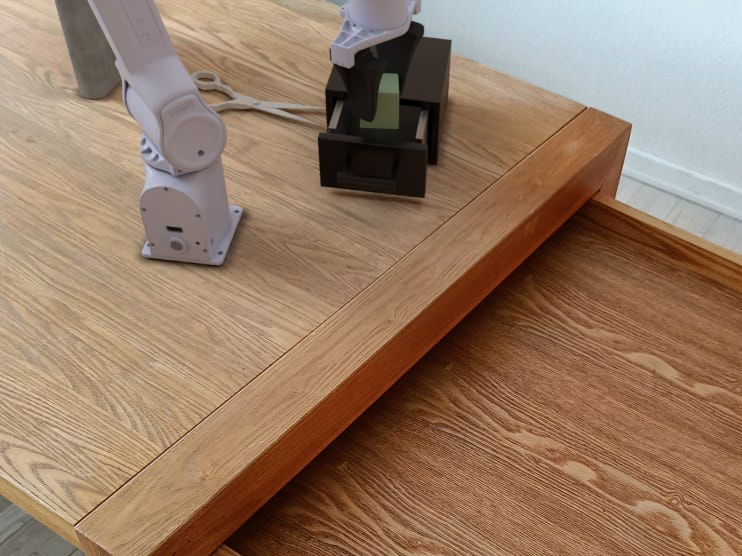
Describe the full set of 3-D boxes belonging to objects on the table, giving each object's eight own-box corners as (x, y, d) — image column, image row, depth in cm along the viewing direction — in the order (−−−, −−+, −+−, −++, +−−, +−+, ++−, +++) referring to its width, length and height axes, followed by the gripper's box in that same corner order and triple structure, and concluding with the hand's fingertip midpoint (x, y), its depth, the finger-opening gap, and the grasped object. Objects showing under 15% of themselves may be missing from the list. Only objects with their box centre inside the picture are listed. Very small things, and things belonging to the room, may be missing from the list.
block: (397, 109, 96) (398, 73, 93) (398, 129, 93) (399, 93, 90) (360, 107, 95) (359, 71, 92) (360, 128, 93) (359, 91, 90)
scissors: (183, 66, 109) (342, 92, 108) (185, 73, 109) (342, 98, 109) (149, 110, 102) (318, 138, 101) (151, 116, 103) (318, 144, 102)
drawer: (420, 222, 94) (422, 174, 89) (313, 210, 93) (309, 160, 89) (436, 132, 105) (439, 85, 100) (340, 121, 104) (338, 73, 100)
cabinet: (436, 165, 102) (440, 102, 96) (328, 152, 102) (324, 89, 96) (448, 100, 111) (451, 39, 105) (348, 88, 111) (346, 26, 105)
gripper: (379, -68, 88) (379, 66, 98) (299, -16, 79) (308, 124, 90) (442, -50, 86) (435, 85, 97) (367, 5, 78) (369, 146, 88)
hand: (378, 105), depth 93 cm, fingers closed on block, 5 cm apart
